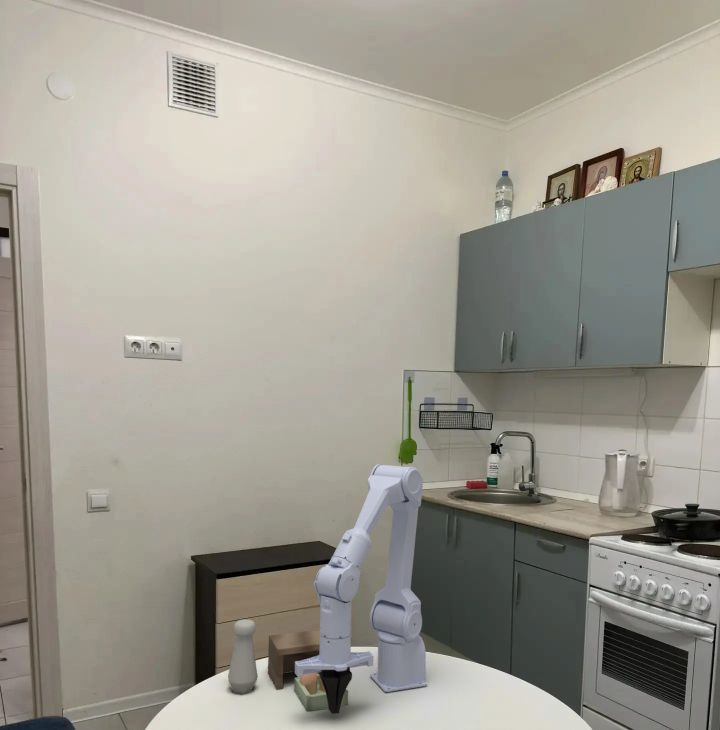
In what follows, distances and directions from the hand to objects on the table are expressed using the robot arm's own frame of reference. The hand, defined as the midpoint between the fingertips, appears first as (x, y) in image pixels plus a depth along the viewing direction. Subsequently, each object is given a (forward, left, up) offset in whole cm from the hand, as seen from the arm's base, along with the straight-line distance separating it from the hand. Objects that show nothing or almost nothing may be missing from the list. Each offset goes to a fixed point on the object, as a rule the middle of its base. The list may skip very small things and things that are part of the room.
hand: (333, 711), depth 109 cm
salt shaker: (+14, -16, -1) cm, 21 cm away
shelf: (0, -18, -1) cm, 18 cm away
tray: (0, -8, -1) cm, 8 cm away
